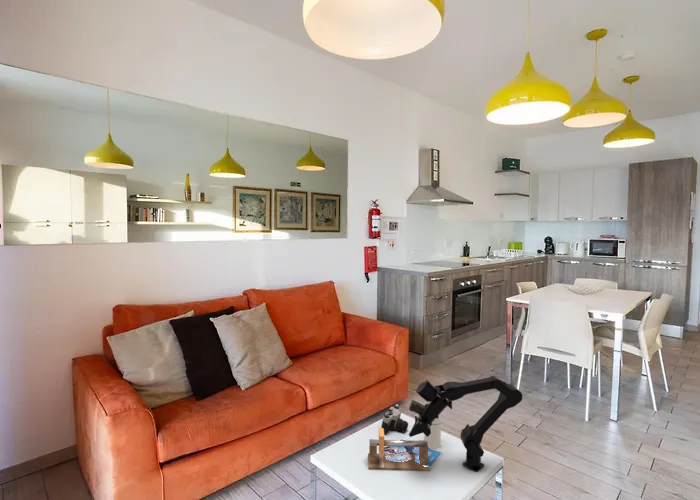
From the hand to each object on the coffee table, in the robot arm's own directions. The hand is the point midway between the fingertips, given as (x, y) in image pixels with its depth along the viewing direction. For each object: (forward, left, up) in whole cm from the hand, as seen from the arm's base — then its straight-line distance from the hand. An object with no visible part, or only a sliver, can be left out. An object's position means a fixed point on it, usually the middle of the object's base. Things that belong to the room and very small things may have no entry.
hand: (409, 435), depth 160 cm
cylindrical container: (-20, -2, -12) cm, 23 cm away
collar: (+8, -8, -7) cm, 14 cm away
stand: (+3, -3, -12) cm, 13 cm away
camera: (-17, -22, -12) cm, 30 cm away
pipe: (+3, -3, -5) cm, 7 cm away
